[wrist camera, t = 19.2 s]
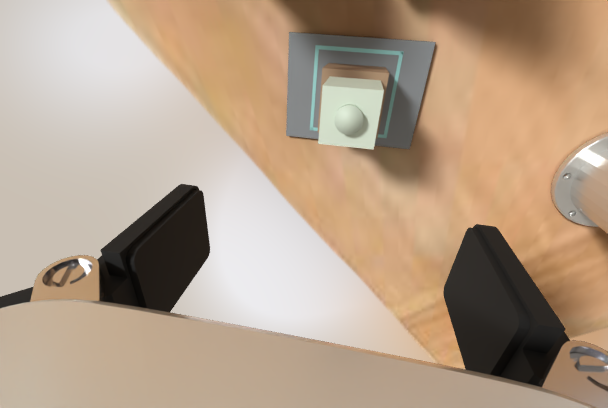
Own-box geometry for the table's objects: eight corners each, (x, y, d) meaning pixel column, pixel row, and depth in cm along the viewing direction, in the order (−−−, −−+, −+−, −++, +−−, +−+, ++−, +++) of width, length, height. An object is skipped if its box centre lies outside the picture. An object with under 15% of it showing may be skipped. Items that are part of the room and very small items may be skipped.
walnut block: (385, 67, 34) (389, 73, 29) (375, 124, 38) (377, 138, 32) (328, 62, 35) (322, 67, 30) (323, 119, 38) (317, 132, 33)
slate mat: (434, 41, 33) (435, 42, 32) (408, 147, 39) (409, 149, 38) (290, 32, 35) (289, 32, 34) (287, 134, 41) (286, 135, 40)
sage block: (380, 80, 30) (384, 91, 24) (372, 130, 32) (373, 152, 26) (329, 76, 30) (321, 86, 24) (325, 126, 33) (317, 146, 27)
